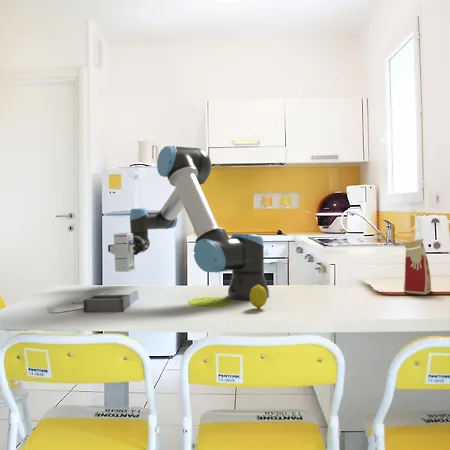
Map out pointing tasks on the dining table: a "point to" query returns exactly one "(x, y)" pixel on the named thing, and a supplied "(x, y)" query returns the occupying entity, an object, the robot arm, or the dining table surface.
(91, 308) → the trap bin
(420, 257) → the red paper bag
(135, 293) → the guide channel
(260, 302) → the lemon
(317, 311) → the dining table surface
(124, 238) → the syrup box
